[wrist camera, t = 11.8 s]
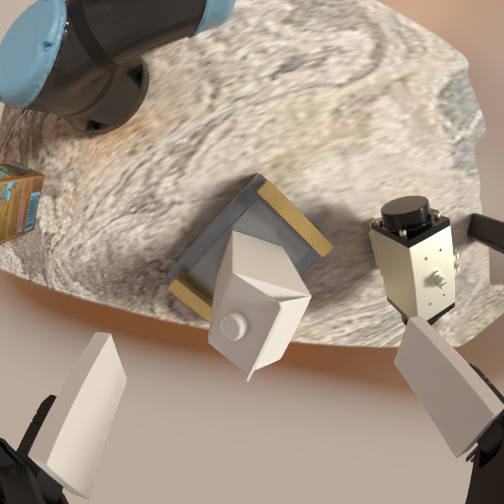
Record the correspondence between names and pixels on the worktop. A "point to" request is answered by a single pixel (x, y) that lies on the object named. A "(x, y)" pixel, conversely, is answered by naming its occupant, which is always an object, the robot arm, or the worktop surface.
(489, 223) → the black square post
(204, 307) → the grey tray
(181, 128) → the worktop surface
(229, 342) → the milk carton
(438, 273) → the ball valve
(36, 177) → the milk carton
